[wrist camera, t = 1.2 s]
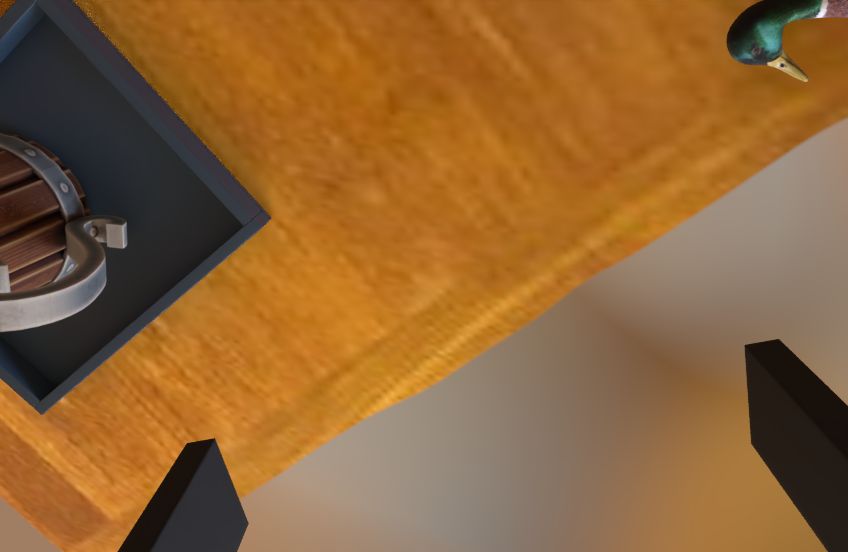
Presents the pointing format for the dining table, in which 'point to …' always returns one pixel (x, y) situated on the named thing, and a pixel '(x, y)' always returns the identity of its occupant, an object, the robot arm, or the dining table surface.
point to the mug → (47, 238)
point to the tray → (111, 189)
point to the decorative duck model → (775, 30)
